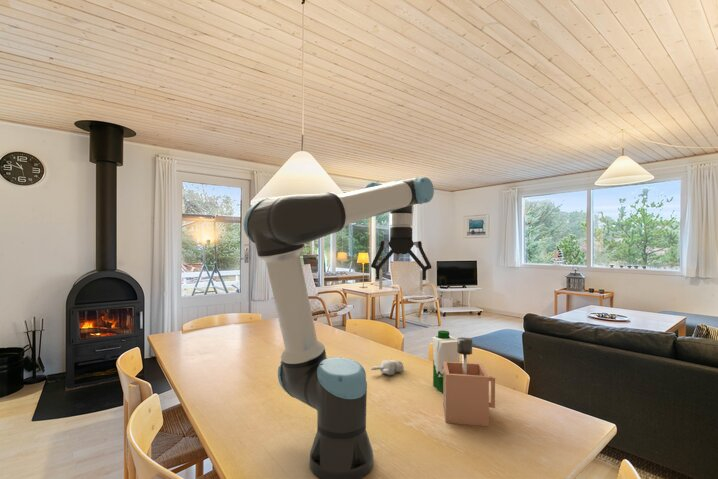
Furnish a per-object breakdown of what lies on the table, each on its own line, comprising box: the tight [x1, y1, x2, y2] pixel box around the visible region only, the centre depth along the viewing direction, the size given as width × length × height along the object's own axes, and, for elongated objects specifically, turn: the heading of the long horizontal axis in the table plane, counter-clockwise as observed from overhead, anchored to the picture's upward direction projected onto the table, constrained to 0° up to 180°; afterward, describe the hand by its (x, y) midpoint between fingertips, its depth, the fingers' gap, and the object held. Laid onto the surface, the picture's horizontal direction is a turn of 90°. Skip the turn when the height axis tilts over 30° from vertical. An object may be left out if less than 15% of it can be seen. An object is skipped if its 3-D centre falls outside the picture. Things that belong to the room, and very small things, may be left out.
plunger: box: [457, 337, 473, 375], centre depth 110 cm, size 9×9×22 cm
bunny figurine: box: [370, 359, 404, 377], centre depth 145 cm, size 10×5×15 cm
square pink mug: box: [442, 361, 496, 427], centre depth 110 cm, size 12×15×14 cm
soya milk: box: [431, 330, 461, 394], centre depth 130 cm, size 9×9×20 cm
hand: (400, 289), depth 122 cm, fingers open, 13 cm apart
